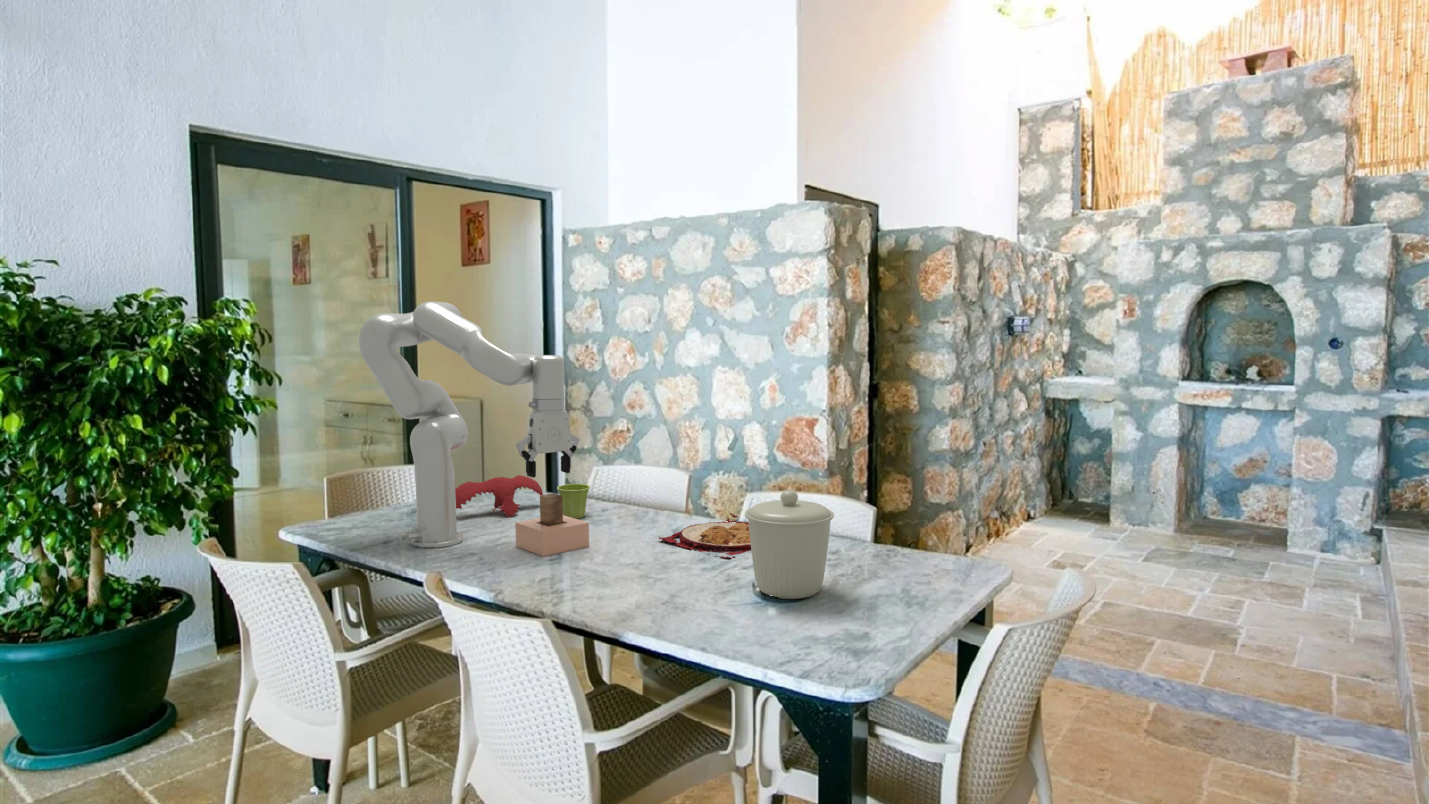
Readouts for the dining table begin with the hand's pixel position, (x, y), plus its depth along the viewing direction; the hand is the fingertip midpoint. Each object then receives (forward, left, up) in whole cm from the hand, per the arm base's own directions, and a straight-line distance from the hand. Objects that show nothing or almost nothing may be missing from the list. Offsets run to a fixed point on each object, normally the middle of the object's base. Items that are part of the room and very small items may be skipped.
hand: (548, 474), depth 209 cm
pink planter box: (0, 0, -18) cm, 18 cm away
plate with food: (+36, -27, -19) cm, 49 cm away
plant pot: (+22, +24, -18) cm, 37 cm away
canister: (+16, -65, -18) cm, 70 cm away
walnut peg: (0, 0, -17) cm, 17 cm away
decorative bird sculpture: (+9, +42, -18) cm, 46 cm away
